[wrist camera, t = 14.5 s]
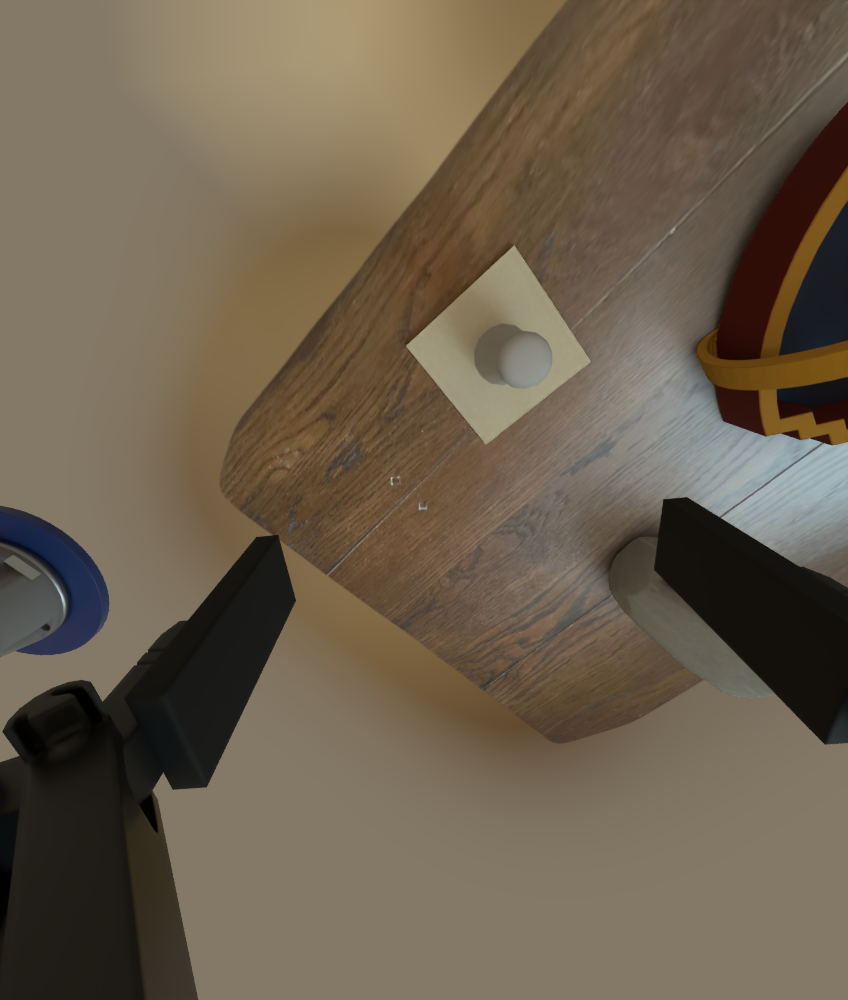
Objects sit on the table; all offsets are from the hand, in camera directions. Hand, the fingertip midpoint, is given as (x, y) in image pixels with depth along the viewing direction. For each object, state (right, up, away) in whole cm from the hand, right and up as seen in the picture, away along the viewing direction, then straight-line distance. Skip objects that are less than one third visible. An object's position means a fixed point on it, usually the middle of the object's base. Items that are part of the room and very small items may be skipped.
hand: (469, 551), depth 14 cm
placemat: (+6, +17, +29) cm, 34 cm away
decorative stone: (+30, -8, +39) cm, 50 cm away
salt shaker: (+6, +17, +29) cm, 34 cm away
